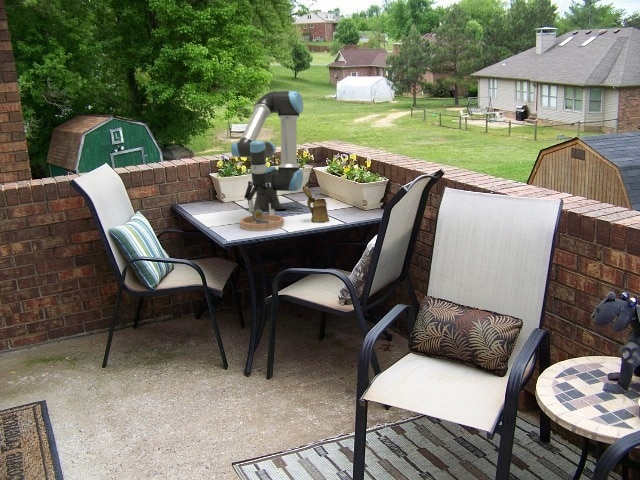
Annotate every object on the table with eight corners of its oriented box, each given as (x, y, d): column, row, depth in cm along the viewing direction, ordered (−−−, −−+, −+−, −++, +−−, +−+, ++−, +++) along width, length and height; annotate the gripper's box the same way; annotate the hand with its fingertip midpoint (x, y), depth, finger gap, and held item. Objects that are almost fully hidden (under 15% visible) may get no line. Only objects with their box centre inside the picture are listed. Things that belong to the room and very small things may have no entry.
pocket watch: (267, 225, 352) (266, 206, 349) (251, 225, 353) (250, 206, 351) (271, 221, 360) (270, 202, 357) (255, 221, 361) (254, 202, 358)
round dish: (231, 227, 354) (230, 221, 353) (260, 218, 371) (259, 212, 370) (264, 232, 341) (263, 226, 340) (292, 223, 358) (292, 217, 357)
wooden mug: (306, 218, 369) (305, 184, 364) (331, 219, 364) (330, 185, 360) (301, 222, 361) (299, 187, 356) (325, 223, 356) (324, 188, 352)
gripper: (235, 171, 353) (238, 212, 359) (273, 175, 339) (275, 218, 345) (245, 169, 359) (248, 209, 365) (283, 173, 345) (285, 215, 350)
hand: (261, 213), depth 355 cm, fingers open, 13 cm apart
